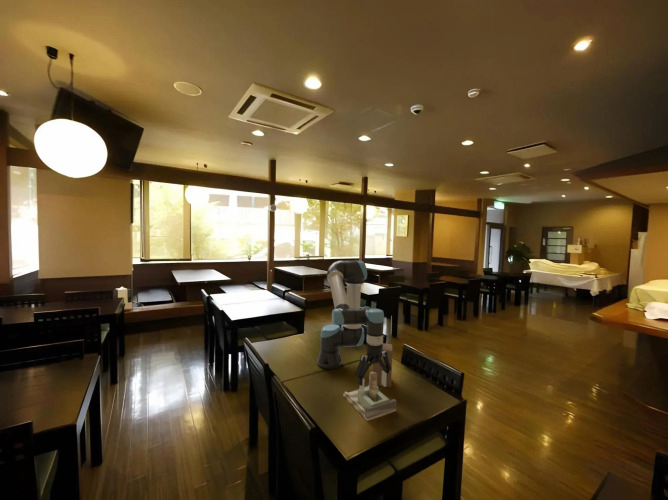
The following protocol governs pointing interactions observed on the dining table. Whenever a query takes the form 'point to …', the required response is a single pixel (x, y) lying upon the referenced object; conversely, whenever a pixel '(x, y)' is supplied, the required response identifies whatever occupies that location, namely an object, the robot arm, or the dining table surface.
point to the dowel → (373, 386)
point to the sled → (366, 401)
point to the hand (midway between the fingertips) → (373, 388)
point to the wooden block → (378, 368)
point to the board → (373, 410)
